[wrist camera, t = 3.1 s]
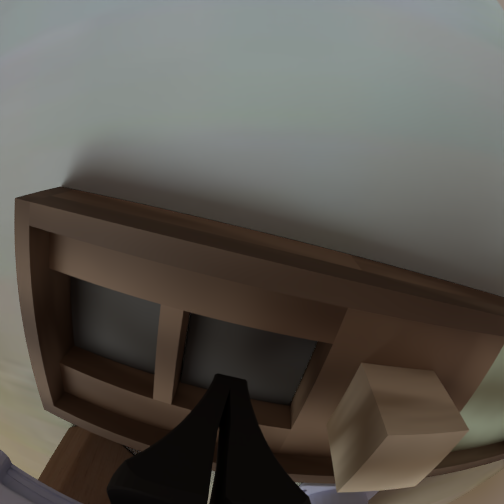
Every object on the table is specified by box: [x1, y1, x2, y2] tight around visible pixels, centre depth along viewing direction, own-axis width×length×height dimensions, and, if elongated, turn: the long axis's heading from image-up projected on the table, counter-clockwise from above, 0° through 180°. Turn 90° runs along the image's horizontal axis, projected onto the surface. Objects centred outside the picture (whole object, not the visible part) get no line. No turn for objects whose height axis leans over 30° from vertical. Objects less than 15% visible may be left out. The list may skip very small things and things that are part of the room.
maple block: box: [326, 363, 469, 492], centre depth 11 cm, size 4×4×4 cm
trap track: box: [15, 187, 504, 484], centre depth 14 cm, size 13×37×4 cm, turn 77°
